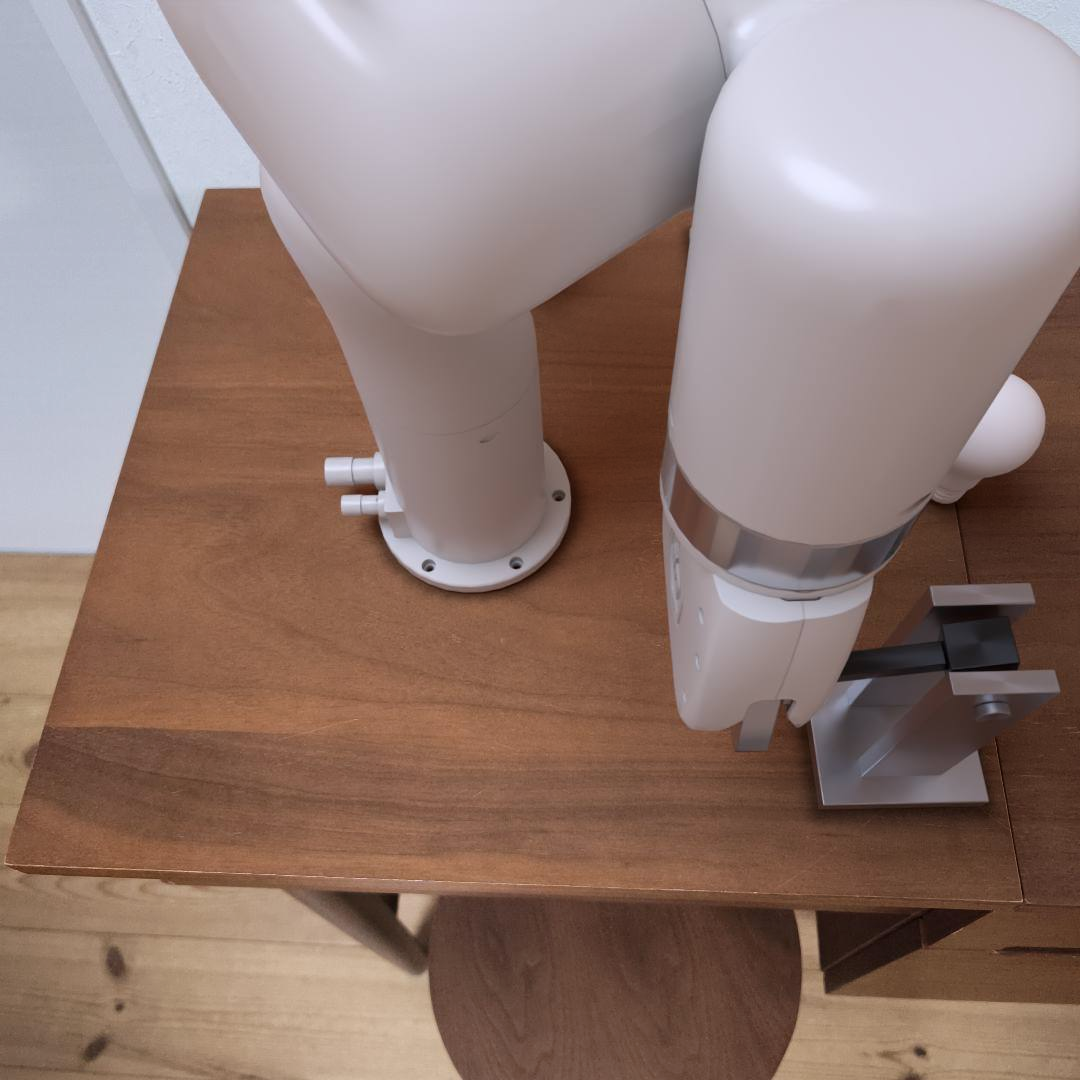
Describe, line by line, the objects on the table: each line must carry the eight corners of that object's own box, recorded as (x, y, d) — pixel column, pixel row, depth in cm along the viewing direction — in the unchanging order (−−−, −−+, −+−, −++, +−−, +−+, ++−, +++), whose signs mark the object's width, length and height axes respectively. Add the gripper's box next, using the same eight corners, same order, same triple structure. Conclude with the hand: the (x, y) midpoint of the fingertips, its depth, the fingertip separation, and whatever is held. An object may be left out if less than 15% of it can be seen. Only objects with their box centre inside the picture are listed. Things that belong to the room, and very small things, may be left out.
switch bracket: (818, 810, 52) (904, 731, 38) (798, 673, 56) (870, 555, 42) (981, 806, 52) (1128, 726, 38) (951, 669, 56) (1075, 550, 42)
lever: (682, 727, 46) (670, 708, 43) (677, 664, 48) (664, 643, 45) (1016, 693, 42) (1025, 671, 39) (999, 626, 43) (1007, 600, 41)
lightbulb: (988, 541, 60) (1067, 447, 50) (888, 526, 60) (948, 430, 51) (987, 460, 62) (1062, 355, 53) (892, 447, 63) (949, 341, 53)
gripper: (647, 271, 31) (626, 533, 47) (683, 715, 24) (645, 843, 40) (878, 262, 31) (778, 529, 47) (984, 708, 24) (822, 840, 40)
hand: (716, 674), depth 43 cm, fingers closed
